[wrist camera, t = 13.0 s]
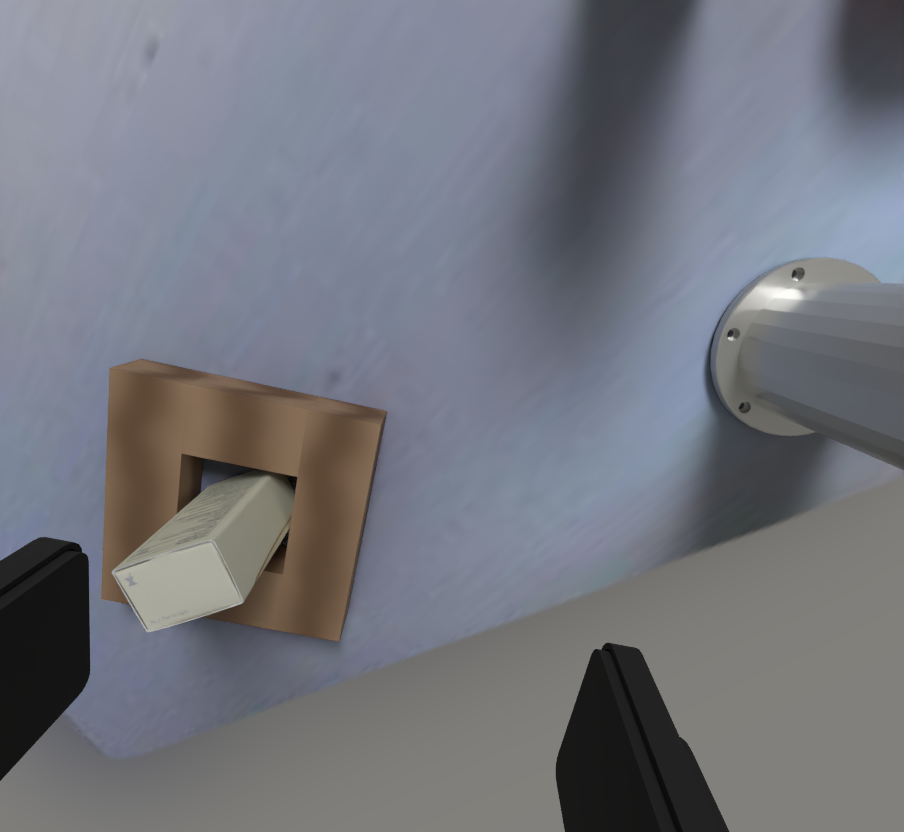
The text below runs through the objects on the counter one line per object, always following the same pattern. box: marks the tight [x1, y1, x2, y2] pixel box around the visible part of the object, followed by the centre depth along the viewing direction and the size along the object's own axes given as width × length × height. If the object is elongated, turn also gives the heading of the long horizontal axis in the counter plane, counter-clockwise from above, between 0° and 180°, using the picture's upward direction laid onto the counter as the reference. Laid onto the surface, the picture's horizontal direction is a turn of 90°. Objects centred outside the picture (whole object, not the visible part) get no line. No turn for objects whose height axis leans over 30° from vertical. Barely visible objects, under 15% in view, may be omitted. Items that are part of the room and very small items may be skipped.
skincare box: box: [112, 469, 295, 632], centre depth 33 cm, size 6×4×12 cm
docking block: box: [101, 359, 387, 642], centre depth 37 cm, size 18×18×4 cm
